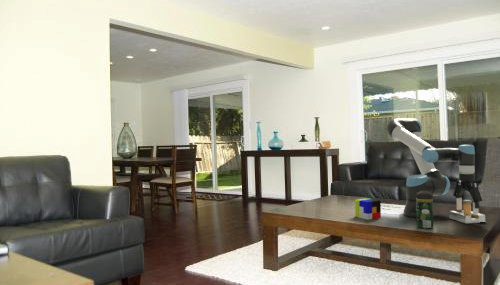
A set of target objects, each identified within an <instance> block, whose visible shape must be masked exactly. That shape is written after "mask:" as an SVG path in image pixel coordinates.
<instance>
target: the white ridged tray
mask: <svg viewBox="0 0 500 285" xmlns="http://www.w3.org/2000/svg"><path fill="white" fill-rule="evenodd" d="M448 217H449V218H448V219H451V220H455V221H457V222H459V223H463V224H480V222H485V223H486V215H485V214H484V213H480V212H479V214H477V215H473V210H471V216H470V215H467V214H464V209H463V210H461V212H459V211H458V210H457V211H455V210H449V211H448Z"/></svg>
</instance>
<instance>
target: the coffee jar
mask: <svg viewBox="0 0 500 285" xmlns="http://www.w3.org/2000/svg"><path fill="white" fill-rule="evenodd" d="M416 212H417V217H416V226H417V228H420V229H424V230H425V229H426V230H427V229H433V228H434V196H433V194H432V193H431V192H429V191H420V192H417V194H416Z"/></svg>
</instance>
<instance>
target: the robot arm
mask: <svg viewBox="0 0 500 285" xmlns="http://www.w3.org/2000/svg"><path fill="white" fill-rule="evenodd" d="M422 129H423V125H422V123H421V122H420V121H419V120H418V119H417V118H412V117H410V118H408V117H407V118H397V117H396V118H392V119H391V120H389V121H388V123H387V124H386V130H385V131H386V132H387V135H388V136H389V137H391V138H392V139H394V140H398V141H400V142H401V143H403V144H404V145H405V146H407V147H408V149H409V150H410V152H411V155H412V156H413V158H414V161H415V163H416V166H417V168H418V169H419V171H420V174H412V175H409V176H408V177H407V178H406V183H405V185H406V186H405V188H406V203H405V206H404V207H403V208H404V209H403V216H406V217H411V218H417V212H416V194H417V192H420V191H429V192H431V193H432V194H433V197H437V196H438V197H439V196H443V195H446V194H447V193H448V192H449V191H450V188H451V180H449V177H447V176H446V175H443V174H442V173H441V171H440V169H439V170H438V169H436V166H435V164H434V163H443V162H444V163H445V162H447V163H448V162H456V163H457V162H458V173H459V174H458V180H457V181H456V185H455V188H454V191H453V197H455V203H456V210H457V211H462V209H463V207H462V206H463V198H462V196H463V194H464V193H465V191H467V192H468V193H469V195H470V196H471V199H472V211H473V215H477V214H479V213H480V212H479V211H480V210H479V209H480V202H483V199H482V195H481V192H480V190H479V184H478V182H475V183H474V181H475V180H476V174H475V172H476V171H475V170H476V169H475V168H476V167H475V161H476V159H475V158H476V157H475V155H476V151H475V146H474V145H473V144H460V145H458V148H455V147H443V148H436V147H434V146H433V145H431V144H429V143H428V142H427V141H425V140H423V139H422V138H421V136H422Z"/></svg>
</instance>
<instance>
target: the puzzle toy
mask: <svg viewBox="0 0 500 285" xmlns="http://www.w3.org/2000/svg"><path fill="white" fill-rule="evenodd" d="M354 202H355V203H354V205H355V206H354V207H355V208H354V209H355V210H354V211H355V217H356V218H360V219H364V220H368V221H369V220H373V219H381V218H382V217H381V216H382V210H381V209H382V206H381V204H382V203H381V200H380V199H374V198H370V197H368V198H365V197H364V198H360V199H355V200H354Z"/></svg>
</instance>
